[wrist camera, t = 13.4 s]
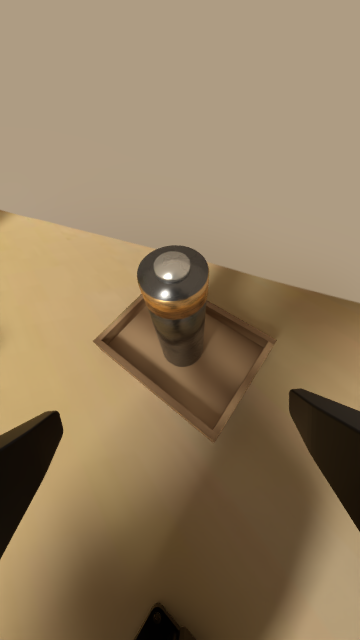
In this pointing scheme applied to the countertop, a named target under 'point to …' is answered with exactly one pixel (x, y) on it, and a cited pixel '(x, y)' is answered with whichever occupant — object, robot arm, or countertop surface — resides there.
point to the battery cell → (176, 300)
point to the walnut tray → (197, 379)
